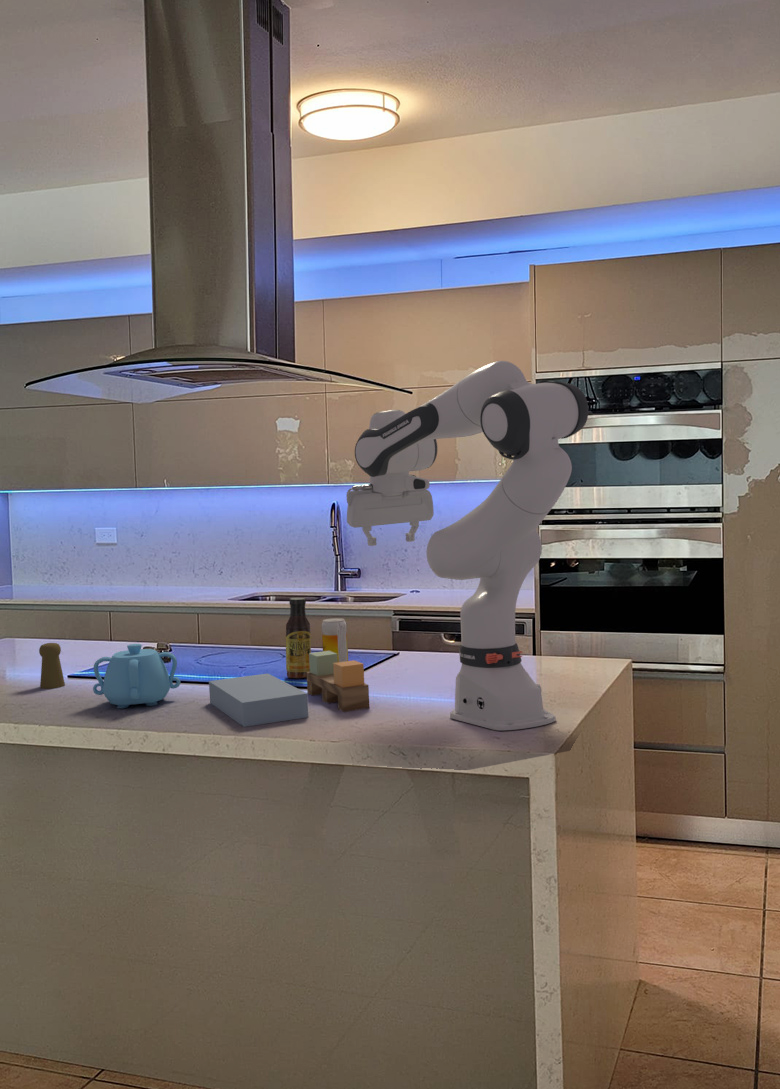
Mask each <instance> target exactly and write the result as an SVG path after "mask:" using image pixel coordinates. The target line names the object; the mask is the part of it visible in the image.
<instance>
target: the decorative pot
mask: <svg viewBox="0 0 780 1089" xmlns="http://www.w3.org/2000/svg"><path fill="white" fill-rule="evenodd" d="M126 647H127V650H122V651H118V652H115V653H113V654H112V656H111V657H110V656H103V657H100V658H98V659H97V660H95V662H94V664H93V672H94V676H95V678H96V680H97V681H98V682H97V683H95V684H94V685H93V686H92V691H93V693H94V694H95V695H98V696H103V695H104V697H105V698H106V699H107V701H108V702H109V703H110V704H111V705H116V706H117V709H125V708H129V707H130V705H139V704H140V705H141V704H145V706H149V707H150V706H151V707H152V706H153V707H154V706H156V705H158V701H161V700H163V699H165V698H166V697H167V695H168V693H169V691H170V689H177V688H179V687H180V685H181V679H180V678H179V677H177V676H175V673H176V670H177V667H178V666H177V665H178V660H177V657H176V656H175V655H174V654H173V653H171V652H168V651H163V652H158V651H157V650H156V649H153V648H145V649H141V648H142V644H141V643H132V644H128V645H127V646H126ZM163 657H168V658H170V659H171V661H172V663H171V664H172V665H171V669H170V673H169V671H168V669H167V666H166V664H165V662H164V660H163V659H162V658H163ZM104 662H108V665H107V667H106V670H105V673H104V677H103V678H102V676H101V674H100V670H99V665H100V664H101V663H104ZM173 681H175V682H176V683H173ZM98 687H100V690H98V689H97V688H98Z"/></svg>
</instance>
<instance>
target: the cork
mask: <svg viewBox="0 0 780 1089" xmlns="http://www.w3.org/2000/svg"><path fill="white" fill-rule="evenodd" d="M61 650H62V647H61V645H60V644H59V643H57V642H48V643H47V642H46V643H44V644H41V645H40V647H39V649H38V651H39V656H41V668H40V682H39V684H40V685H39V688H40V689H42V690H43V689H44V690H51V689H58V688H63V687H65V686H66V683H65V679H64V673H63V670H62V664H61V661H60V654H61V652H62V651H61Z"/></svg>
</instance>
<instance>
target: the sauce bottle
mask: <svg viewBox="0 0 780 1089" xmlns="http://www.w3.org/2000/svg"><path fill="white" fill-rule="evenodd" d="M306 601H307V600H306V598H305V597H291V598H289V602H288V604H289V607H290V611H289V612H290V613H289V615H290V616H289V618H288V620H287V622H286V624H285V632H286V633H285V666H286V667H285V668H286V670H285V671H286V677H287V678H288V679H307V674H306V672H310V664H309V653H312V647H311V646H312V643H311V641H312V640H311V638H312V637H311V626H310V625H311V624H310V621H309V620H308V618H307V617H306V615H307V614H306Z"/></svg>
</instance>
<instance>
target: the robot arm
mask: <svg viewBox="0 0 780 1089" xmlns="http://www.w3.org/2000/svg"><path fill="white" fill-rule="evenodd" d="M588 404H589V403H588V400H587V398H586V395H585V393H584V392H583V391H582V390H581V388H579V387H578V386H576V385H574V384H573V383H572V384H571V383H568V382H565V381H564V382H563V381H555V380H554V381H553V380H547V379H542V380H539V382H538V383H531V382H529V381H528V380H527V379H526V377H525V375H524V373H523V371H522V370H521V369H520V368H519V367H518V366H517V365H516V364H515V363H513V362H510V361H507V360H497V361H494V362H493V361H492V362H491V363H488V364H486V365H483V366H481V367H480V368H478V369H475V370H474V371H473V372H471V373H469V374H468V375H466V376H464V377H463V378H462V379H461V380H459V381H458V382H456V383H455V384H453V385H452V386H451V387H449V388H448V389H445V391H442V393H440V394H438V395H437V396H435V397H433V398H432V399H430V400H428V401H426V402H425V403H423V404H421V405H420V406H418V407H416V408H413V409H412V410H410V411H408V412H407V413H405V411H404V410H400V409H389V410H381V411H377V412H376V413H374V414H373V415H371V417H370V420H369V427H368V428H367V429H365V430H364V431H363V432H362V433H361V434H360V436H359V438H358V439H357V441H356V443H355V447H354V458H355V461H356V464H357V465H358V466H359V468H360V469H361V470H362V471H363V472H365V473H366V474H367V476H369V483H368V484H362V485H361V484H360V485H358V484H357V485H353V486H352V487H350V488H349V489H348V490H347V492H346V503H347V509H346V523H347V524H348V525H349V526H350V527H352V528H354V529H355V528H362V532H363V533H364V535H365V536H366V538H367V545H368V546H369V547H373V546H377V537H376V536H372V533H371V531H373V530H372V529H373V528H372V527H377V526H387V525H395V524H396V525H397V524H406V523H409V526H411V527H410V529H409V531H408V532H407V533H405V541H406V542H407V543H408V542H409V543H410V542H415V540H416V539H415V535H416V532H417V530H418V528H419V527H420V522H424V521H426V522H427V521H431V520H432V518H433V516H434V513H435V512H434V502H433V494H432V492H430V490H428V489H430V480H429V479H426V478H423V477H419V476H416V475H414V474H410V473H411V472H416V471H423V470H426V469H429V468H431V467H432V466H433V465H434V463H435V461H436V459H437V456H438V442H437V440H439V439H441V440H442V439H454V438H464V437H470V436H471V437H472V436H475V435H478V434H481V433H483V435H484V437H485V438H486V439H487V441H488V442H489V443H490V445H491V446H492V447H493V448H494V449H495V450H497V451H498V452H499V455H501V457H503V458H505V459H508V460H512V463H511V464H510V466H509V467H508V469H507V470H506V472H505V473H504V475H503V476H502V478H501V479H500V480H499V482H498V483H497V484H496V486H495V487H494V488H493V490H492V491H491V492H490V493H489V495H488V496H487V497H486V498H485V499H484V500H483V501H482V502H481V503H480V504H479V505H477V506H476V507H475V508H473V509H472V510H471V511H470V512H468V513H467V514H465V515H464V516H462V517H461V518H460V519H458V520H457V521H455V522H454V523H452V524H451V525H448V526H446V527H444V528H442V529H439V530H437V531H435V532H434V533H432V535H431V537H430V538H429V539H428V543H427V544H426V545H427V546H426V551H425V552H426V559H427V561H426V562H427V563H428V566H429V568H430V569H431V571H432V573H434V575H436V576H437V577H439V578H442V579H447V580H459V581H465V580H466V581H467V580H472V579H479V583H478V586H477V588H476V590H475V592H474V593H473V595H471V596H470V597H469V598H468V599H466V600H465V601H464V602H463V604H462V605H461V608H460V612H459V614H460V633H461V634H460V635H461V637H460V639H461V642H460V643H461V644H460V645H459V651H458V654H459V662H460V663H461V666H460V669H459V672H458V674H457V675H456V676H455V689H454V690H455V692H454V709H453V710H452V711H451V712H449V713H450V714H449V719H452V720H456V721H459V722H464V723H468V724H471V725H475V726H479V727H482V728H485V729H489V730H493V731H516V730H523V729H529V728H531V729H532V728H536V727H541V726H544V725H545V726H546V725H548V724H551V723H554V722H556V721H557V720H556V715H555V714H553V713H551V712H549V711H547V710H546V709H544V704H543V695H542V687H541V685H540V683H536V682H535V681H534V679H532V677H531V676H530V675H529V673H528V672H527V670H526V669H525V668H524V665H522V663H521V662H522V657H523V655H521V654H522V653H523V651H522V650H521V651H520V649H519V645H518V643H517V641H516V608H517V600H518V597H519V595H520V594H519V593H520V591H521V588H522V586H523V583H524V581H525V579H526V577H527V576H528V574H529V573H530V572H531V571H532V570H533V568H535V566H537V564H538V563H539V561H540V559H541V556H542V551H543V547H542V545H543V544H542V540H541V537H540V535H539V533H538V531H537V528H538V527H539V526H540V524H541V523H542V521H543V520H544V519H545V518H546V517H547V515H548V514H549V513H550V511H551V510H552V509H553V507H554V506H555V504H556V503H557V502H558V500H559V499H560V497H561V496H562V494H563V492H564V490H565V489H566V487H567V484H568V482H569V480H570V477H571V474H572V471H573V470H572V469H573V466H572V460H571V459H570V456H569V454H568V453H567V452H566V451H565V449H563V448H562V447H560V444H559V440H561V439H564V440H565V439H568V438H570V437H571V436H574V435H576V434H577V433H579V432H580V431H581V430H582V429H584V427H585V425H586V424H587V420H588V417H589V405H588Z"/></svg>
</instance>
